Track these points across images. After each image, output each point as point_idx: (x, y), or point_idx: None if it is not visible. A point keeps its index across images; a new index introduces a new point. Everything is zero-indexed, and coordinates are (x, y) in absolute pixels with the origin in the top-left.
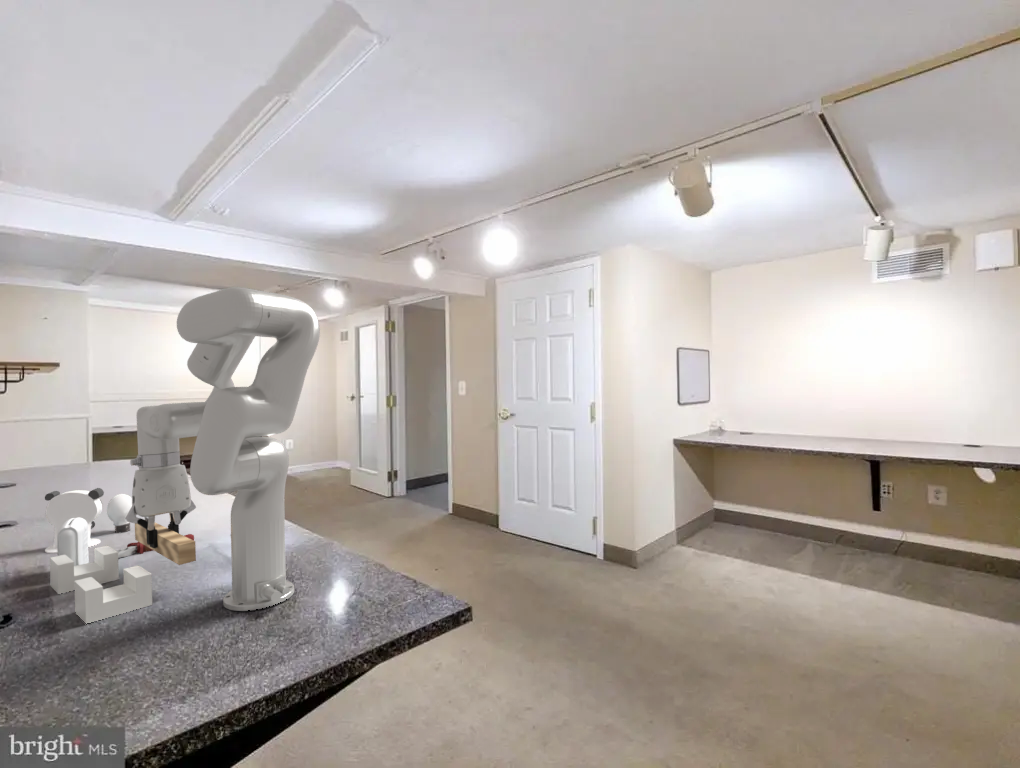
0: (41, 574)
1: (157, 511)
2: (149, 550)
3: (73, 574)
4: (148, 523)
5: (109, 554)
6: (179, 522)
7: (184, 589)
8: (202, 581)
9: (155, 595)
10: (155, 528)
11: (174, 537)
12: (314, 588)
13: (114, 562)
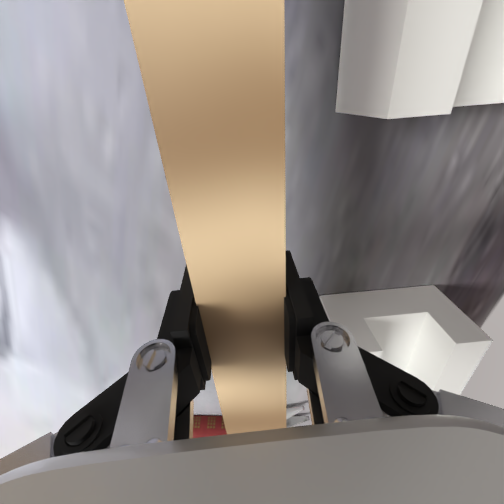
0: None
1: (362, 471)
2: (222, 417)
3: (431, 316)
4: (361, 368)
5: (367, 350)
6: (144, 356)
7: None
8: (139, 67)
9: (304, 49)
10: (257, 397)
11: (221, 102)
12: None
13: None
